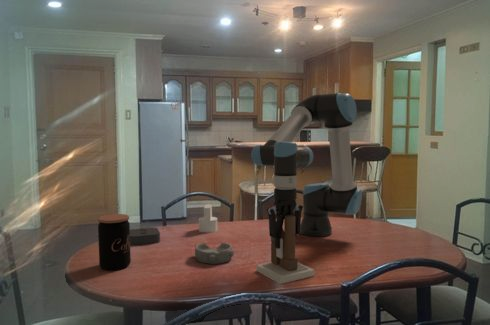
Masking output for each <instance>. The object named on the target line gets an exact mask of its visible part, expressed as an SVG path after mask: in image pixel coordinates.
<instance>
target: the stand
mask: <svg viewBox="0 0 490 325" xmlns="http://www.w3.org/2000/svg"><path fill="white" fill-rule="evenodd" d="M256 272H258V273H259V274H262V275H263V276H265V277H266V278H269V279H270V280H272V281H274V282H276V283H277V284H279V285H281V284H286V283H289V282H295V281H297V280H298V281H299V280H302V279H306V278H310V277H314V276H315V269H314V268H311V267H309V266H306V265H304V264H302V263H300V262H299V261H297V269H296V270H291V271H288V270H286V269H284V268H282V267H280V264H278V265H276V264H274V263H272V262H271V261H270V262H265V263H264V262H263V263H260V264H257V265H256Z"/></svg>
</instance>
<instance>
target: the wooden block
mask: <svg viewBox="0 0 490 325" xmlns="http://www.w3.org/2000/svg"><path fill="white" fill-rule="evenodd" d="M281 239H283V258H282V259H281V258H279V257H277V256H276V248H275V238H273V237H270V262H272V263H274V264H276V265H278V264H280V267H282V268H284V269H286V270H288V271H291V270H296V269H297V262H298V259H297V257H296V237H295V216H294V215H285V217H284V222H283V228H282V235H281Z"/></svg>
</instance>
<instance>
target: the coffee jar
mask: <svg viewBox="0 0 490 325" xmlns="http://www.w3.org/2000/svg"><path fill="white" fill-rule="evenodd" d="M129 220H130V215H129V214H124V213H113V214H105V215H101V216H99V217H98V218H97V221H98V223H99V224H98V225H97V232H98V233H97V234H98V235H97V237H98V260H99V262H98V264H99V267H100V268H101V269H102V271H103V270H104V271H109V272H110V271H113V272H114V271H120V270H124V269H126V268H128V267H129V265H131V260H132V258H131V245H130V230H131V229H130V228H131V227H130V221H129Z"/></svg>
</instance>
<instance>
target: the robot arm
mask: <svg viewBox="0 0 490 325" xmlns="http://www.w3.org/2000/svg"><path fill="white" fill-rule="evenodd" d="M357 108H358V107H357V104H356V101H355V98H354V97H353V95H351V94H350V93H342V92H338V93H325V94H320V93H319V94H314V95H310V96H308V97H306V98H304V99H303V100H302V101H300V102H299V103H298V104H296V105H295V106H294V107H293V108H292V109H291V111H290V115H289V116H288V117H287V119H285V121H284V122H283V123H282V124H281V125H280V127H279V128H277V130H276V131H275V132H274V133H273V134H272V135H271V136H270V137H269V139H268V140H266V142H265V143H264V144H263V145H262V144H259V145H255V146H254V147H253V148H252V150H251V155H250V158H251V161H252V163H253V164H254V165H257V166H262V167H273V170H274V171H273V187H274V189H273V199H274V203H273V205H272V207H270V208H269V207H267V208H266V212H267V215H268V231H269V232H268V233H269V237H270V238H271V237H273V238H275V248H276V256H277V257H279V258H281V259H282V258H283V239H281V235H282V228H283V229H284V217H285V215H294V216H295V238H297V237H298V235H300V234H301V235H305V236H308V237H309V236H310V237H326V236H331V235H332V234H333V228H332V227H333V226H332V225H331V221H330V217H329V213H333V214H341V215H357V213H358V212H359V210H360V208H361V205H362V200H363V191H362V189H360V188H358V184H357V183H356V182H355V181H354V179H353V178H354V177H353V166H352V164H353V163H352V153H351V151H352V150H351V139H350V137H351V136H350V128H351V127H352V126H353V122H354V121H356V119H357V112H358V109H357ZM317 122H320V123H323V124H324V128H325V129H326V130H327V131H328V139H329V153H330V164H331V176H332V182H331V183H330V184H329V182H328V183H327V182H320V183H311V184H307V185H304V187H303V193H302V200H303V201H302V202H303V204H302V205H300V204H298V203H297V200H296V199H297V191H298V190H297V188H296V187H298V186H297V183H298V182H297V179H298V176H297V169H300V168H303V169H304V168H306V167H308V166H309V165H311V164H312V163H313V161H314V152H313V151H312V149H311V148H310V147H308V146H305V145H299V146H298V145H297V143H296V142H295V141H294V140H295V139H296V138H297V136H298V135H299V134H300V133H301V132H302V130H303V129H305V127H308V126H309V125H310V124H311V123H317ZM302 212H303V214H302Z"/></svg>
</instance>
